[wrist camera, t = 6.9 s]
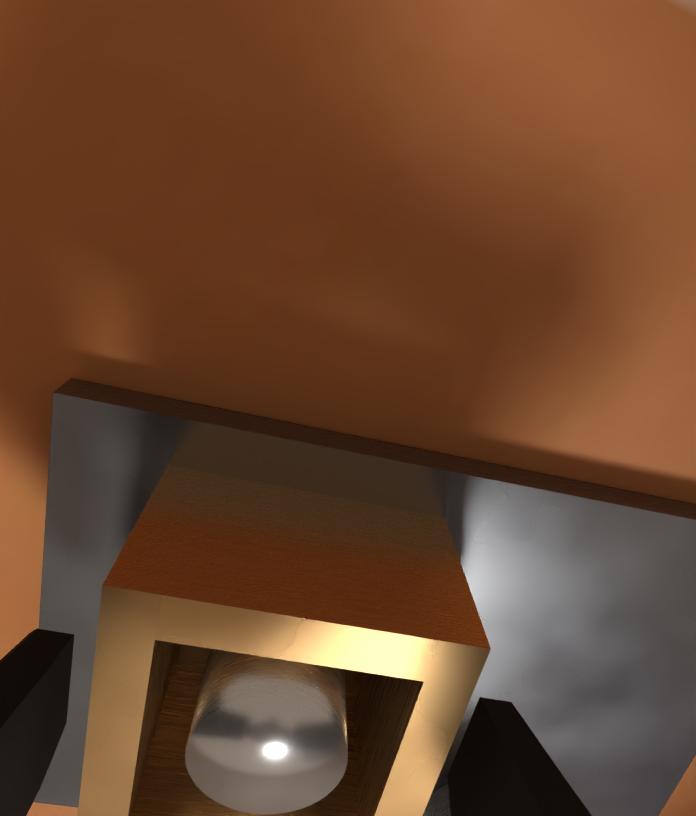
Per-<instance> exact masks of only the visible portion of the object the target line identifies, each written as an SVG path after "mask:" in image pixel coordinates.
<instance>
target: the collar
mask: <svg viewBox="0 0 696 816" xmlns="http://www.w3.org/2000/svg"><path fill="white" fill-rule="evenodd" d="M180 644H184V645H191V646H197V647H204V648H210V649H217V650H223V651H230V652H236V653H242V654H249V655H255V656H262V657H268V658H275V659H281V660H288V661H294V662H301V663H307V664H313V665H320V666H326V667H333V668H339V669H346V670H352V671H357V672H356V675H355V678H354V682H353V685H352V687H348V686H345V696H346V721H347V747H348V761H347V766H346V770H345V773H344V775H343V777H342V779H341V780H340V782H339V784H338V785H337V786H336V787H335V788H334V789H333V790H332V791H331V792H330V793H329V794H328V795H327V796H325V797H324V798H322V799H321V800H319V801H318V802H316V803H314V804H312V805H310V806H307V807H305V808H302V809H299V810H295V811H292V812H286V813H280V814H253V813H247V812H242V811H238V810H234V809H231V808H229V807H226V806H224V805H222V804H220V803H218V802H216V801H214V800H212V799H211V798H209V797H208V796H207V795H205V794H204V793H203V792H202V791H201V790H200V789H199V788H198V787H197V786H196V785H195V783H194V782H193V780H192V779H191V777H190V775H189V773H188V770H187V767H186V762H185V750H186V745H187V741H188V737H189V733H190V728H191V724H192V720H193V716H194V712H195V708H196V704H197V700H198V696H199V692H200V687H201V683H202V679H203V675H204V671H205V667H206V665H203V664H196V663H189V662H183V661H177V658H178V652H179V646H180ZM490 650H491V648H490V645H489V642H488V639H487V636H486V633H485V631H484V628H483V625H482V622H481V619H480V616H479V613H478V611H477V608H476V605H475V602H474V599H473V596H472V593H471V591H470V588H469V585H468V582H467V579H466V576H465V573H464V571H463V568H462V565H461V562H460V559H459V556H458V553H457V551H456V548H455V545H454V542H453V539H452V536H451V533H450V531H449V528H448V525H447V522H446V519H445V517H440V516H435V515H429V514H424V513H419V512H413V511H408V510H403V509H398V508H392V507H387V506H382V505H377V504H371V503H366V502H361V501H355V500H350V499H345V498H340V497H334V496H329V495H324V494H318V493H313V492H308V491H303V490H297V489H292V488H287V487H282V486H276V485H271V484H266V483H260V482H255V481H250V480H245V479H239V478H234V477H229V476H224V475H218V474H213V473H208V472H202V471H197V470H192V469H187V468H181V467H176V466H171V465H167V467H166V469H165V471H164V473H163V475H162V476H161V478H160V480H159V482H158V484H157V486H156V487H155V489H154V491H153V493H152V495H151V497H150V499H149V500H148V502H147V504H146V506H145V508H144V510H143V511H142V513H141V515H140V517H139V519H138V521H137V522H136V524H135V526H134V528H133V530H132V532H131V533H130V535H129V537H128V539H127V541H126V543H125V544H124V546H123V548H122V550H121V552H120V554H119V556H118V557H117V559H116V561H115V563H114V565H113V567H112V568H111V570H110V572H109V574H108V576H107V578H106V579H105V581H104V583H103V585H102V593H101V602H100V611H99V621H98V630H97V639H96V648H95V658H94V667H93V676H92V686H91V695H90V704H89V714H88V723H87V732H86V742H85V751H84V760H83V769H82V779H81V788H80V797H79V807H78V816H423V813H424V811H425V808H426V806H427V803H428V801H429V799H430V796H431V794H432V791H433V789H434V786H435V784H436V782H437V779H438V777H439V774H440V772H441V769H442V767H443V764H444V762H445V760H446V757H447V755H448V752H449V750H450V747H451V745H452V743H453V740H454V738H455V735H456V733H457V730H458V728H459V726H460V723H461V721H462V718H463V716H464V713H465V711H466V708H467V706H468V704H469V701H470V699H471V696H472V694H473V691H474V689H475V687H476V684H477V682H478V679H479V677H480V674H481V672H482V670H483V667H484V665H485V662H486V660H487V657H488V655H489V653H490Z"/></svg>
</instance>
